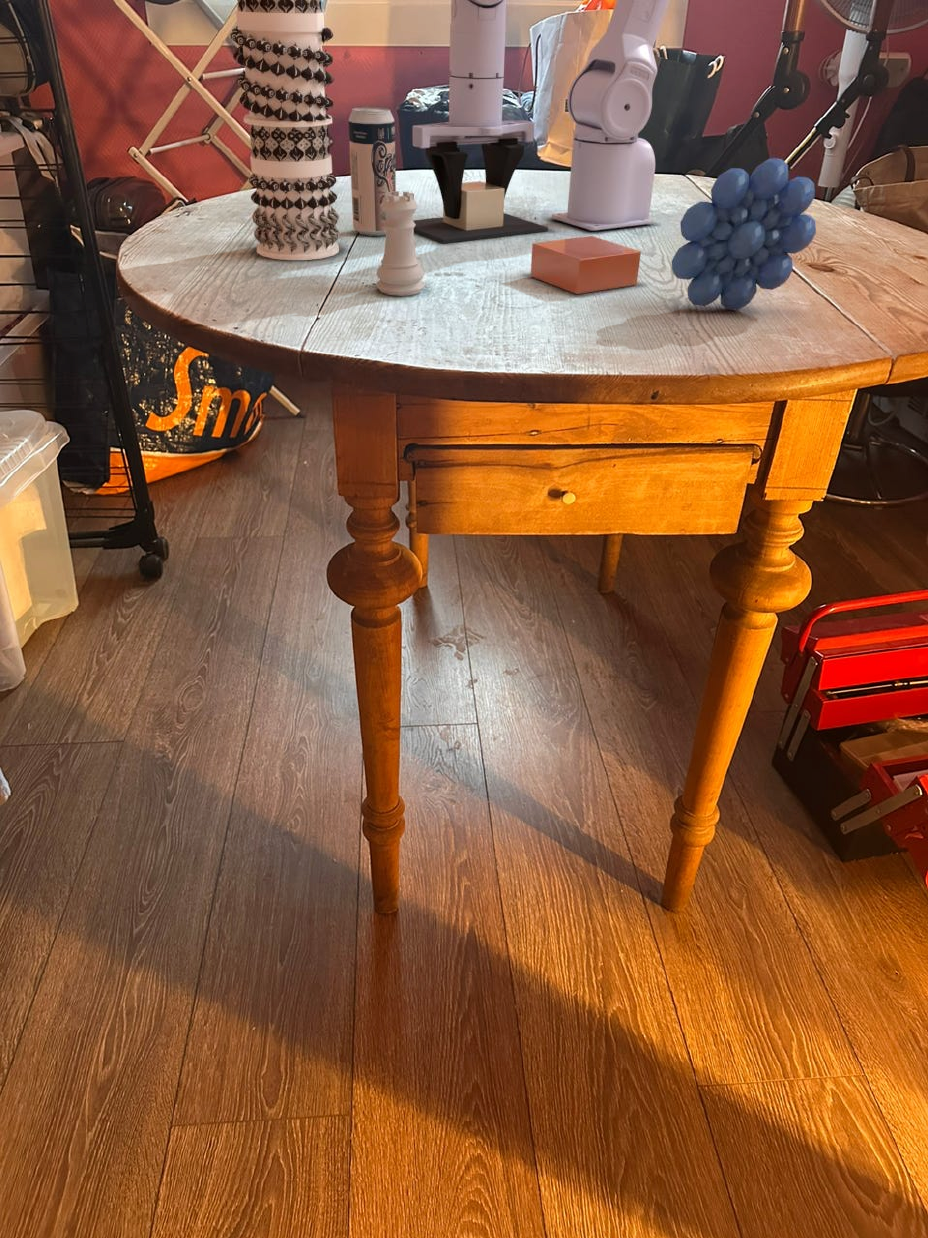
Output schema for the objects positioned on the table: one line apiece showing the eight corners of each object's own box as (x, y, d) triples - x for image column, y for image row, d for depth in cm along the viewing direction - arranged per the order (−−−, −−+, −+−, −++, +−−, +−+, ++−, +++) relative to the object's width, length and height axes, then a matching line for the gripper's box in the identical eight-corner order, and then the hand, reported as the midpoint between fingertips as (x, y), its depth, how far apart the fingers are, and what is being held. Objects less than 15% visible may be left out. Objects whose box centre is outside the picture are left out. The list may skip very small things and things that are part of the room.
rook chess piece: (375, 283, 85) (372, 188, 80) (424, 283, 85) (423, 189, 81) (375, 296, 81) (372, 198, 77) (426, 296, 81) (426, 198, 77)
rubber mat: (498, 214, 112) (498, 211, 112) (547, 230, 105) (548, 227, 105) (397, 225, 105) (397, 221, 105) (443, 243, 99) (443, 239, 98)
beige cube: (479, 218, 108) (480, 180, 106) (503, 226, 104) (504, 188, 102) (442, 222, 106) (443, 184, 103) (466, 230, 102) (466, 191, 100)
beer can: (390, 238, 100) (387, 112, 93) (347, 235, 101) (342, 110, 94) (401, 228, 104) (399, 108, 97) (360, 226, 105) (355, 105, 98)
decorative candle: (286, 236, 100) (263, -49, 85) (360, 246, 96) (348, -48, 82) (233, 253, 93) (199, -54, 79) (310, 265, 90) (288, -53, 75)
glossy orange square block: (588, 267, 91) (591, 235, 90) (637, 284, 86) (641, 251, 85) (530, 275, 88) (532, 242, 86) (576, 294, 83) (579, 259, 81)
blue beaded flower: (782, 297, 84) (813, 151, 77) (806, 319, 78) (842, 163, 72) (655, 294, 84) (675, 147, 77) (671, 316, 78) (694, 160, 71)
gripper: (437, 81, 91) (436, 227, 98) (554, 78, 97) (545, 216, 105) (402, 75, 96) (403, 215, 103) (516, 72, 102) (509, 205, 110)
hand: (472, 215), depth 104 cm, fingers closed on beige cube, 5 cm apart
